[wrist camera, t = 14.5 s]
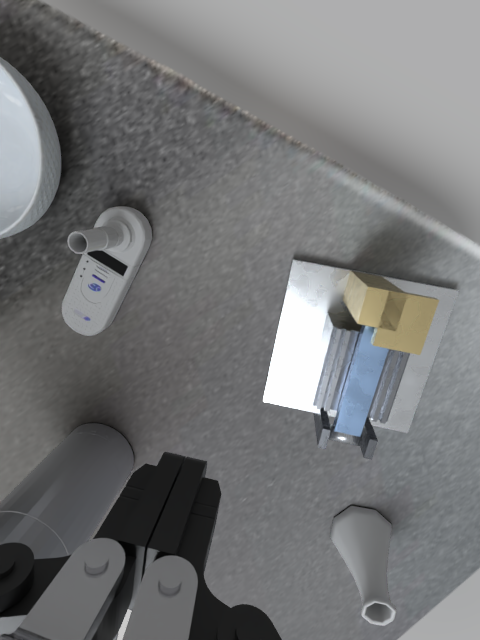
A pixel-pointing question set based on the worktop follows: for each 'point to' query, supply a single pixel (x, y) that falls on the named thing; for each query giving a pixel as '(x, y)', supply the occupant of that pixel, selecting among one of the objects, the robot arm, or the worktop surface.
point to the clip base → (307, 332)
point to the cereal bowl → (25, 153)
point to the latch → (390, 312)
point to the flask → (366, 558)
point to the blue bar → (358, 389)
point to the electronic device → (105, 268)
